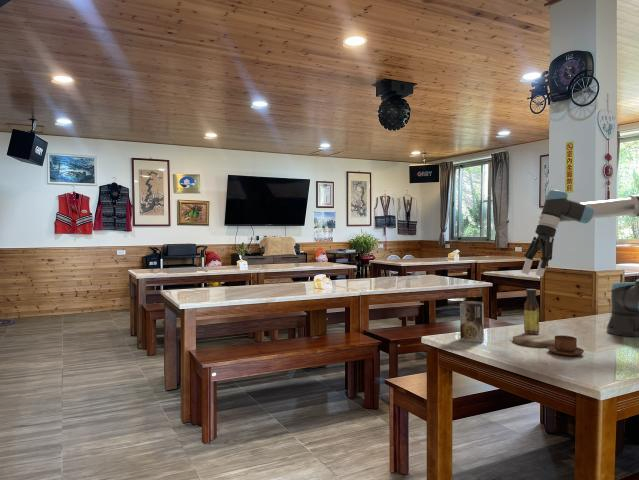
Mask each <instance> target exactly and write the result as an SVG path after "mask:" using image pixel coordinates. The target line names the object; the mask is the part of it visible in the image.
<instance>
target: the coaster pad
mask: <svg viewBox="0 0 639 480" xmlns="http://www.w3.org/2000/svg"><path fill="white" fill-rule="evenodd" d="M512 342H513V343H514V344H515V345H518V346H519V345H520V346H524V347H530V348H542V349H543V348H547V349H548V346H551V345H555V338H551V337H548V336H542V335H536V334H521V335H514V336H513V337H512Z"/></svg>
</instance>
